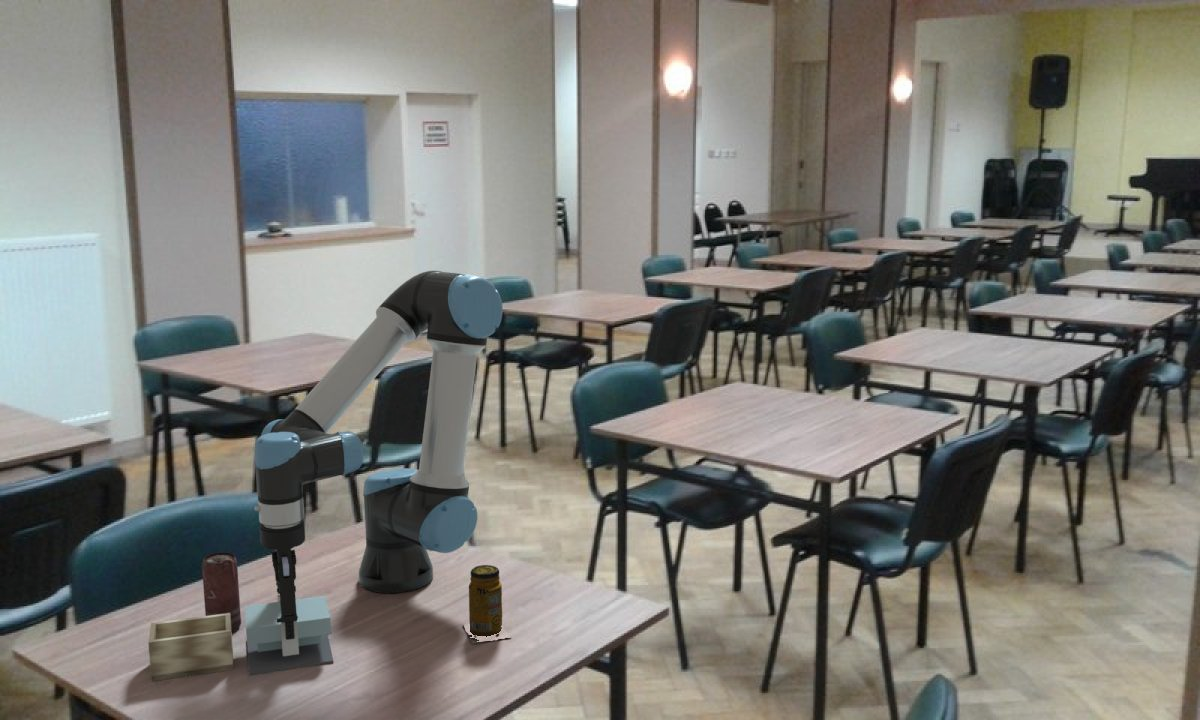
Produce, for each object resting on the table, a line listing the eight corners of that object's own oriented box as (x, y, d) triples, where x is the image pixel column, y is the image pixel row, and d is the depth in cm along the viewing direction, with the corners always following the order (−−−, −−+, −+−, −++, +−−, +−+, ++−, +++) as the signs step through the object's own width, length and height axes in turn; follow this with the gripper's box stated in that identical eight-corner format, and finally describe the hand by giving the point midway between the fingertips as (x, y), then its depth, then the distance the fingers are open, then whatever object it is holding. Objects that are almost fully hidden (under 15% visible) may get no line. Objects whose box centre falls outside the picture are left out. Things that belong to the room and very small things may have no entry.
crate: (232, 649, 193) (230, 612, 192) (233, 669, 186) (230, 631, 184) (154, 660, 189) (151, 623, 188) (151, 681, 182) (148, 642, 180)
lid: (326, 623, 199) (325, 595, 198) (332, 646, 190) (330, 617, 189) (246, 634, 195) (244, 606, 194) (248, 659, 185) (246, 629, 184)
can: (231, 636, 198) (226, 564, 196) (200, 633, 200) (194, 561, 197) (248, 623, 204) (244, 552, 202) (218, 620, 205) (213, 550, 203)
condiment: (499, 620, 205) (498, 560, 203) (511, 639, 198) (510, 576, 195) (461, 626, 203) (460, 565, 201) (472, 645, 195) (470, 582, 193)
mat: (326, 629, 201) (326, 627, 201) (333, 662, 188) (333, 660, 188) (247, 640, 197) (246, 638, 197) (249, 675, 184) (248, 672, 184)
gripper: (257, 504, 197) (264, 618, 202) (261, 546, 176) (269, 673, 180) (299, 500, 200) (306, 613, 204) (309, 541, 179) (316, 666, 183)
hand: (288, 641), depth 192 cm, fingers open, 10 cm apart
